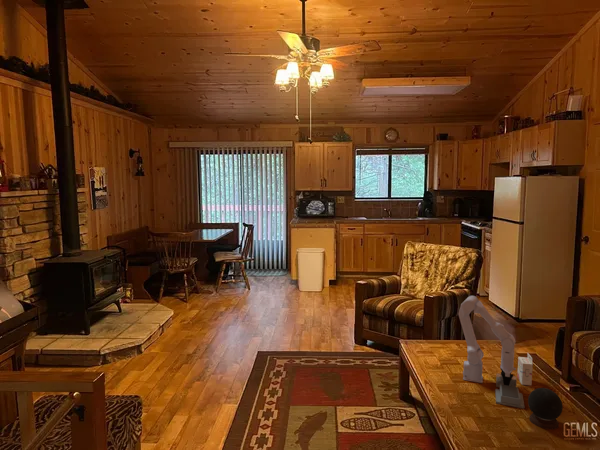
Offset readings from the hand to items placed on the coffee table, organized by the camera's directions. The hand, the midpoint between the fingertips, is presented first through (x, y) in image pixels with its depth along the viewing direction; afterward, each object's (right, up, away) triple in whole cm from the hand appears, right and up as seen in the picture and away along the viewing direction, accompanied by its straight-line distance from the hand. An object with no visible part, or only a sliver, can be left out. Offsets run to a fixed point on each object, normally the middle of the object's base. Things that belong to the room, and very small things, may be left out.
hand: (506, 384), depth 217 cm
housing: (0, -1, 0) cm, 1 cm away
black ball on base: (+2, -5, -31) cm, 31 cm away
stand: (-4, -3, -12) cm, 13 cm away
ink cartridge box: (+12, -1, +6) cm, 14 cm away
